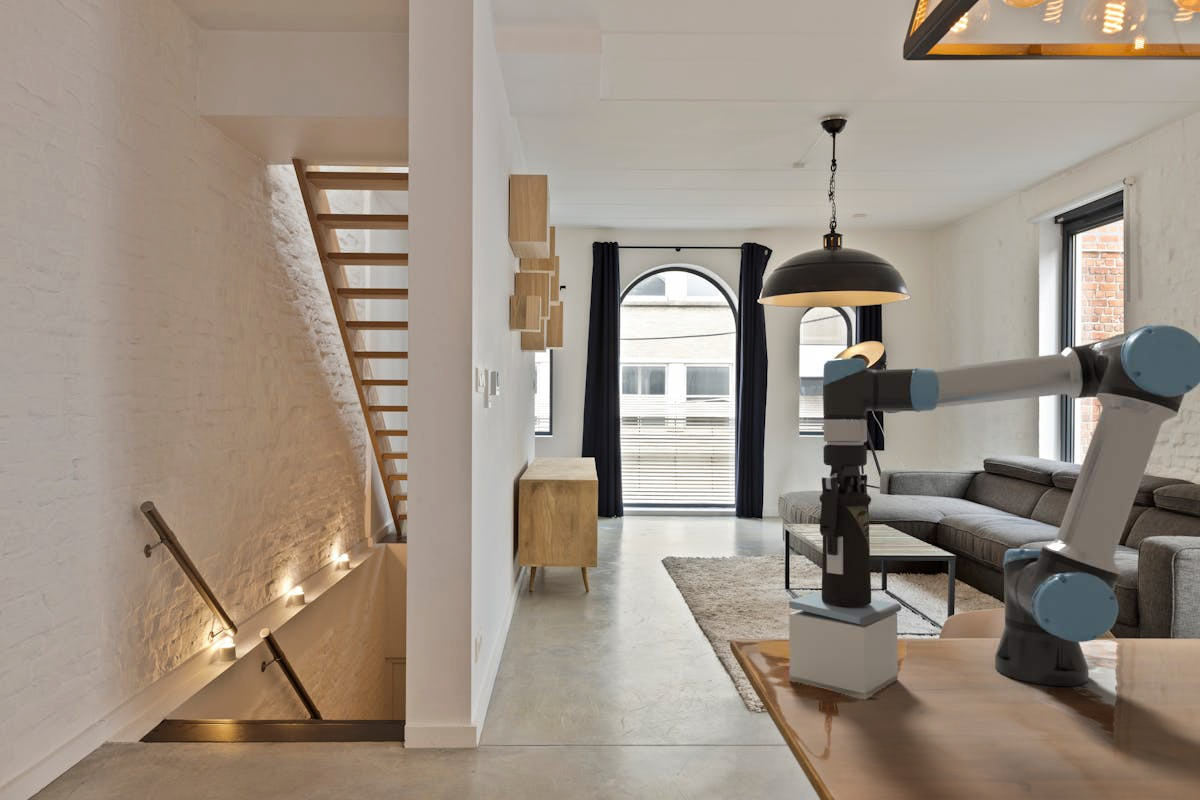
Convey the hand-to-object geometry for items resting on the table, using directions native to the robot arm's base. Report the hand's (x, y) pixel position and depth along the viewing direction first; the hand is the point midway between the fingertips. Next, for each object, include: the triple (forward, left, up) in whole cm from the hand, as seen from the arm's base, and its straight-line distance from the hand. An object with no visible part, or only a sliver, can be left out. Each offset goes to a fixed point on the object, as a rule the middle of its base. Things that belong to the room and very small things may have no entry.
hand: (845, 569), depth 140 cm
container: (0, 0, -6) cm, 6 cm away
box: (+1, 0, -20) cm, 20 cm away
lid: (0, 0, -7) cm, 7 cm away
